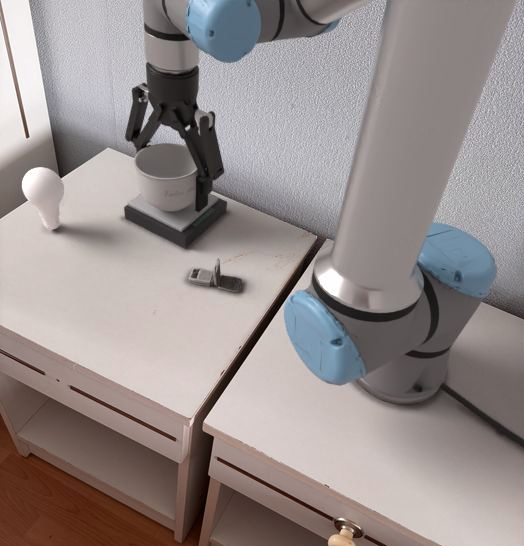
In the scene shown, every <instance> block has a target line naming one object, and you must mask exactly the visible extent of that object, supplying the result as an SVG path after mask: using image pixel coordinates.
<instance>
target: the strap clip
mask: <svg viewBox="0 0 524 546" xmlns="http://www.w3.org/2000/svg"><path fill="white" fill-rule="evenodd" d="M220 263H221V260H220V258H219V257H217V258H216V260H215V262H214V266H213V270H210V269H206V268H202V267H193V268H192V269H191V271H190V272H189V273H190V274H189V276H188V281H189V283H192V284H194V285H197V286H203V287H211V286H213V284H214V285H215V286H216V287H217V288H218V289H219V290H224V291H228V292H231V293H237V292H240V290H241V287H242V283H243V279H242V278H240V277H237V276H231V275H224V274H222V275H221V264H220ZM194 274H197V276H196V278H195V277H193V276H194ZM235 282H239V284H238V287H237V288H234V284H235Z"/></svg>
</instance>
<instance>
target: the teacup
mask: <svg viewBox="0 0 524 546" xmlns="http://www.w3.org/2000/svg"><path fill="white" fill-rule="evenodd" d="M150 145H151V146H148V145H147V146H148V147H146V148H144V149H142V150H140V151H139V152H138V153H135V156H134V158H133V165H134V168H135V173H136V180H137V186H138V191H139V194H140V193H141V195H142V197H143V198H144V200H145V201H146V202H147V203H149V204H150V205H152V206H154V207H156V208H158V209H160V210H163V211H178V210H181V209H184V208H185V207H187V206H189V205H190V204H192V203H193V202H194V201H195V200H196V177H197V176H198V175H200V174H199V172H198V170H197V167H196V165H195V163H194V161H193V158H192V156H191V154H190V152H189V149H188V147H187V145H186V143H184V145H183V144H179V143H174V142H173V143H171V142H163V143H154V144H150Z"/></svg>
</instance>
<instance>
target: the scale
mask: <svg viewBox="0 0 524 546" xmlns="http://www.w3.org/2000/svg"><path fill="white" fill-rule="evenodd" d="M195 201H196V200H195ZM195 201H194V202H193V203H192V204H190V205H189V206H187V207H185V208H184V209H181V210H178V211H163V210H160V209H158V208H156V207H154V206H152V205H150V204H149V203H147V202H146V201H145V200H144V198H143V197H142V195H141V193H140V192H139V193H138V194H137V195H136V196H135V197H133V198H132V199H130V200H129V201H128V202H127V204H126V205H125V206H123V211H124V219H126V220H127V221H129V222H131V223H134V224H135V225H137V226H139V227H141V228H143V229H145V230H148V231H149V232H151V233H153V234H155V235H157V236H159V237H160V238H162V239H165V240H167V241H168V242H171V243H173V244H175V245H177V246H179V247H181V248H183V249H185V250H186V249H187V248H189V246H190V245H192V244H193V243H194V242H195V241H196V240H198V239H199V238H200V236H202V235H203V233H206V231H207V230H208V229H209V228H211V227H212V226H213V225H214V224H215V223H216V222H217V221H218V220H219V219H221V218H222V217H223V216H224V215H226V214H227V209H228V201H226V200H225V199H223V198H220V197H218V196H216V195H214V194H212V193H210V194H208V205H207V206H206V207H205V208H204V209H202V210H201V211H200V212H197V211H195Z"/></svg>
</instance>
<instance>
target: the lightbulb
mask: <svg viewBox="0 0 524 546" xmlns="http://www.w3.org/2000/svg"><path fill="white" fill-rule="evenodd" d="M21 181H22V182H21V189H22V193H23V195H24V197H25V198H26V200H27V201H28V202H29V203H30V204H32V205H33V206H34V207H35V209H36V210H37V212H38V215H39V217H40V218H41V219H42V223H43V226H44V228H46V229H48V230H56V229H58V228H59V227H60V226H61V220H60V213H61V212H60V205H61V202H62V200H63V197H64V194H65V186H64V185H65V184H64V182H63V180H62V178H61V176H59V174H58V173H57V172H55V171H54V170H52V169H50V168H48V167H42V166H39V167H34V168H31V169H30V170H28V171H27V172H26V173H25V174H24V176H23V178H22V180H21Z"/></svg>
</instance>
